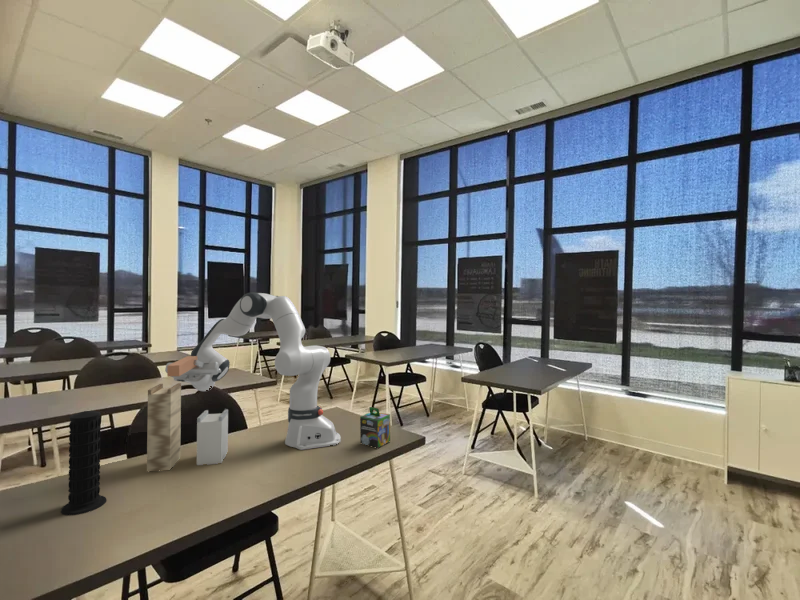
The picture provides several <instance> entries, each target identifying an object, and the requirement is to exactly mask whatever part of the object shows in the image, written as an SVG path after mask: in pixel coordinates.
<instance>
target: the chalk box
mask: <svg viewBox="0 0 800 600" xmlns="http://www.w3.org/2000/svg"><path fill="white" fill-rule="evenodd" d="M359 419H360V420H359V421H360V423H359V425H360V427H359V430H360V436H359V437H360V443H362V444H361V445H363V444H365V445H364V446H366V445H369V446H368V447H370V446H372V447H371V448H374V447H376V448H375V449H377V448H378V447H380V446H381V447H383V446H384V445H383V444H385V443H387V442H388V443H390V442H391V414H390V413H385V412H380V410H379V408H378V407H372V406H370V407H369V412H367V413H365V414H363V415H361V416H360V418H359ZM389 441H390V442H389ZM388 443H387V444H388ZM382 445H383V446H382ZM385 445H386V444H385ZM381 447H380V448H381ZM378 449H379V448H378Z"/></svg>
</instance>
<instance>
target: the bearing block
mask: <svg viewBox="0 0 800 600" xmlns="http://www.w3.org/2000/svg"><path fill="white" fill-rule="evenodd" d="M181 408H182V383H180V382H179V383H176V384H175V385H173V386H171V387H164V384H163V383H158V384H157V385H155V386H153V387H151V388H149V389H147V439H146V440H147V441H146V472H147V471H158V472H162V471H161V470H170V469H171V468H172V467H173V468H174V467H175V465H176V464H177V463H178V462H179V461H180V460H181V432H182V431H181V429H182V427H181V424H182V422H181V421H182V419H181V418H182V415H181V414H182V413H181V412H182V411H181V410H182V409H181ZM179 459H180V460H179ZM178 460H179V461H178ZM177 461H178V462H177ZM176 462H177V463H176ZM175 463H176V464H175ZM173 468H172V469H173ZM172 469H171V470H172ZM159 470H160V471H159ZM171 470H170V471H171Z"/></svg>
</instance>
